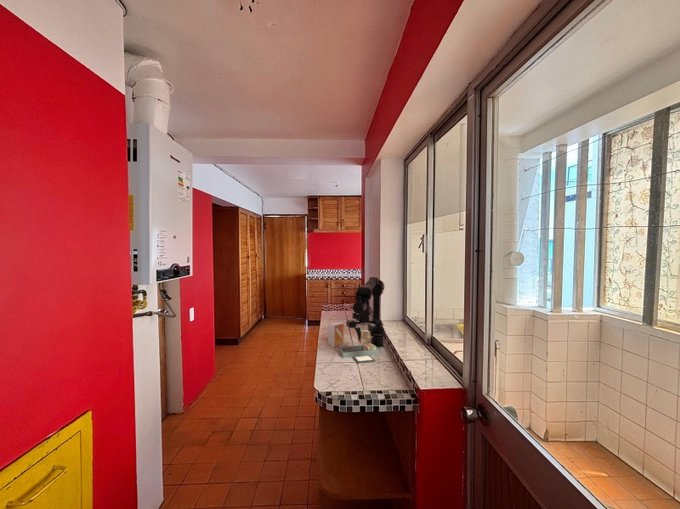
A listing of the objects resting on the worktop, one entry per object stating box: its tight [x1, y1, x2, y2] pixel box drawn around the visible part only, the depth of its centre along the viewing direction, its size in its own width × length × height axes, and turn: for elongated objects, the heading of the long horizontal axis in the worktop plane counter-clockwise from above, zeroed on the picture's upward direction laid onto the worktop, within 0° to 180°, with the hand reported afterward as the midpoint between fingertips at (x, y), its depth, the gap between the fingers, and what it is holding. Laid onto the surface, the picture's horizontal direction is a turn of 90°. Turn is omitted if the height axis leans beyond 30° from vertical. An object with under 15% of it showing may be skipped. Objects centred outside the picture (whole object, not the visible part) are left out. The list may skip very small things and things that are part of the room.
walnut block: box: [357, 328, 371, 345], centre depth 165 cm, size 5×5×6 cm
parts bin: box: [337, 344, 380, 358], centre depth 177 cm, size 22×11×2 cm, turn 106°
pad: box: [352, 355, 376, 364], centre depth 165 cm, size 10×8×1 cm
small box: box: [327, 321, 345, 347], centre depth 193 cm, size 8×6×13 cm
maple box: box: [362, 342, 377, 351], centre depth 179 cm, size 5×7×4 cm
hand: (363, 338), depth 165 cm, fingers closed on walnut block, 5 cm apart
